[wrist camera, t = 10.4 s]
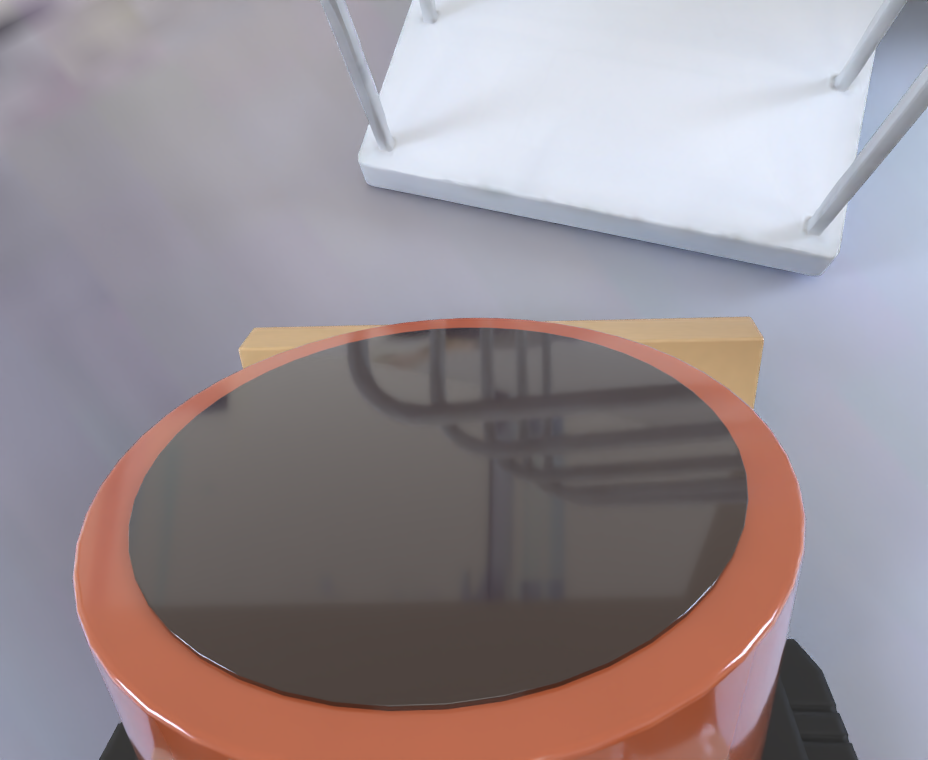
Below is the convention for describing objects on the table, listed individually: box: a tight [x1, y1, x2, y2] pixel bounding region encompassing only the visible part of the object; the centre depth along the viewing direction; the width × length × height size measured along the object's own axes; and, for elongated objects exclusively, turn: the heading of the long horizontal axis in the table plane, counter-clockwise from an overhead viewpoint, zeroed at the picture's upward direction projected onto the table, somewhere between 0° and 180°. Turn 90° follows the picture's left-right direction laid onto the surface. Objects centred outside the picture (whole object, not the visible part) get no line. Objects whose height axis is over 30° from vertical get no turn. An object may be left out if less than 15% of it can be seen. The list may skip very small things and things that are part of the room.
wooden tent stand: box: [239, 317, 764, 409], centre depth 20 cm, size 10×12×9 cm
